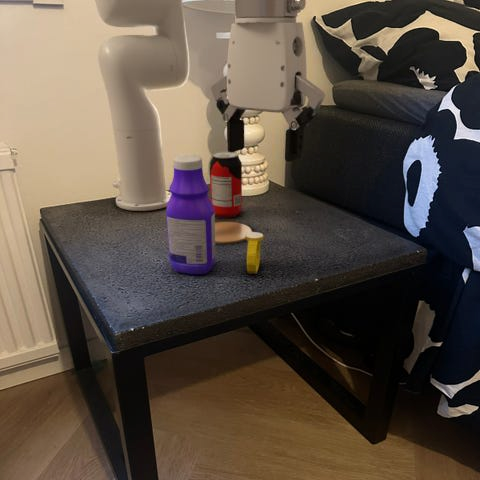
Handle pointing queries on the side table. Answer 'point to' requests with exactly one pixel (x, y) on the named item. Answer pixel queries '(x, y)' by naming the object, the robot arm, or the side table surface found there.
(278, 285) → the side table surface
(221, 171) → the beverage can
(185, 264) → the bottle
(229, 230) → the coaster
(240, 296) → the side table surface
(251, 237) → the watch
